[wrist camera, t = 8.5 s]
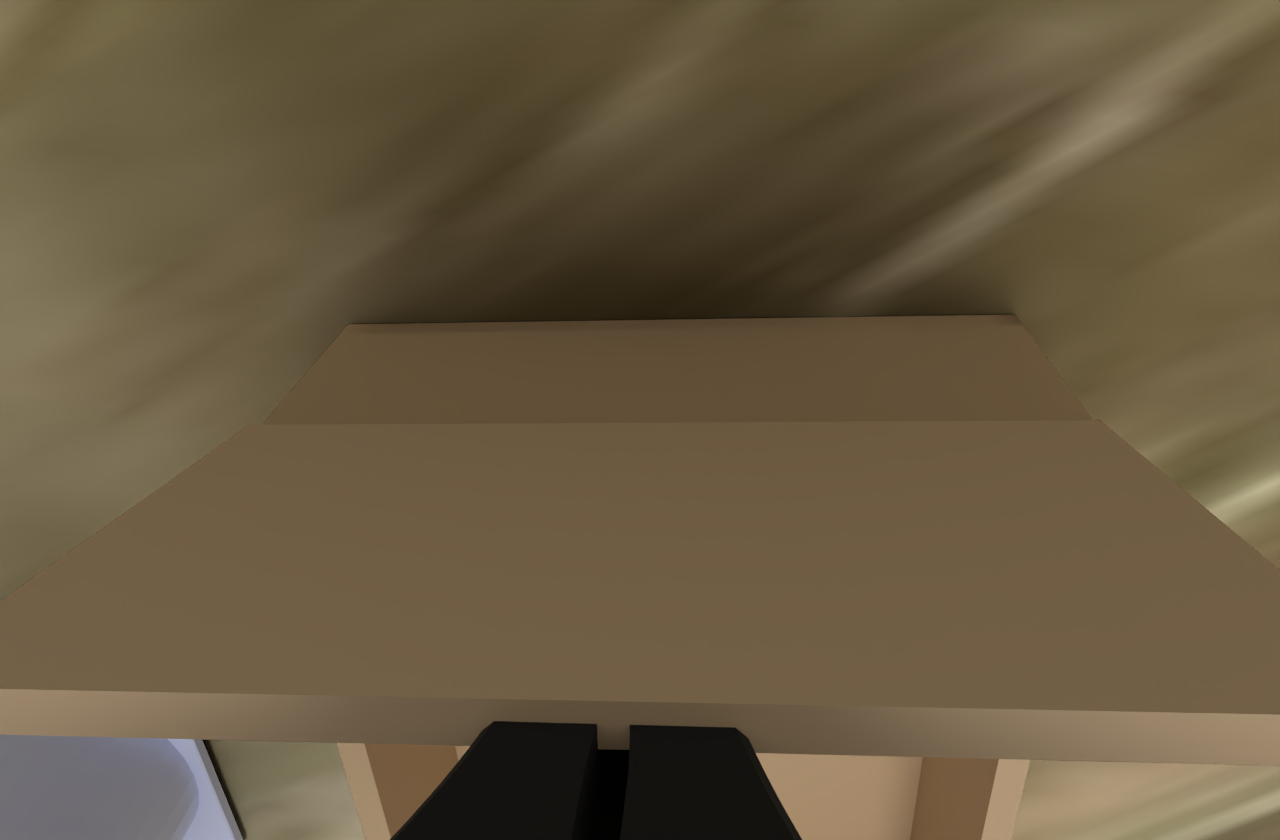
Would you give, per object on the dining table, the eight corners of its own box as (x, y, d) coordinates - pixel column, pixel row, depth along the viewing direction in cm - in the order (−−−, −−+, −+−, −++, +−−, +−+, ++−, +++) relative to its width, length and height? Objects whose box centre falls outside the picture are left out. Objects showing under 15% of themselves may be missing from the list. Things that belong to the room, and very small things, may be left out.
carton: (465, 851, 28) (420, 1022, 24) (348, 324, 20) (245, 443, 15) (920, 867, 27) (959, 1049, 23) (1015, 314, 18) (1108, 441, 14)
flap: (-105, 731, 8) (-120, 686, 8) (254, 453, 15) (249, 424, 15) (1439, 769, 7) (1457, 718, 7) (1095, 450, 14) (1100, 420, 14)
